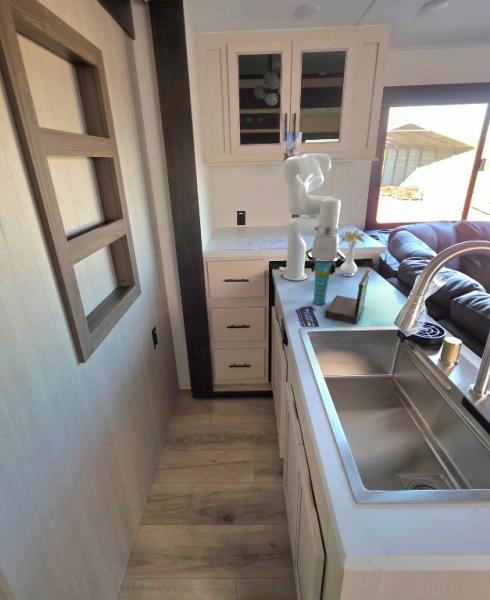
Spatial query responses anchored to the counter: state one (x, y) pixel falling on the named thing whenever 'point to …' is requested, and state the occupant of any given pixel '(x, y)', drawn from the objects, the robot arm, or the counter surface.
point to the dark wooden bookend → (349, 304)
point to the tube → (321, 280)
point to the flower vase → (350, 251)
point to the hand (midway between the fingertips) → (322, 272)
